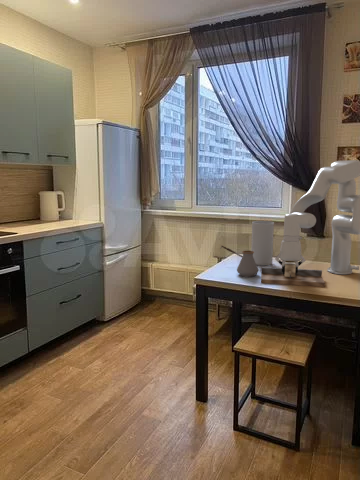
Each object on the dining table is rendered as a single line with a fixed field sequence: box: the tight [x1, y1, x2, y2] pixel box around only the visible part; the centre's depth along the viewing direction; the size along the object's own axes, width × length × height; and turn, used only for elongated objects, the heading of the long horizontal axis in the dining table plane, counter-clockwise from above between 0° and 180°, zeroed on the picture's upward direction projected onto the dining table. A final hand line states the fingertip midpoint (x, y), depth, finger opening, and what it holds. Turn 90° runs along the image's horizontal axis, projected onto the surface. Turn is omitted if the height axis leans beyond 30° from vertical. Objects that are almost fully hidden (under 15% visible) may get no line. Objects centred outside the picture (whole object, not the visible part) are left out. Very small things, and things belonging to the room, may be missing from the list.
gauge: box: [284, 262, 296, 278], centre depth 184 cm, size 5×10×6 cm, turn 168°
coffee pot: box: [219, 245, 259, 278], centre depth 198 cm, size 21×12×15 cm, turn 63°
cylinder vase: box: [250, 220, 275, 267], centre depth 219 cm, size 12×12×25 cm
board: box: [260, 266, 326, 288], centre depth 185 cm, size 30×12×5 cm, turn 77°
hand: (289, 273), depth 186 cm, fingers closed on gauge, 5 cm apart
